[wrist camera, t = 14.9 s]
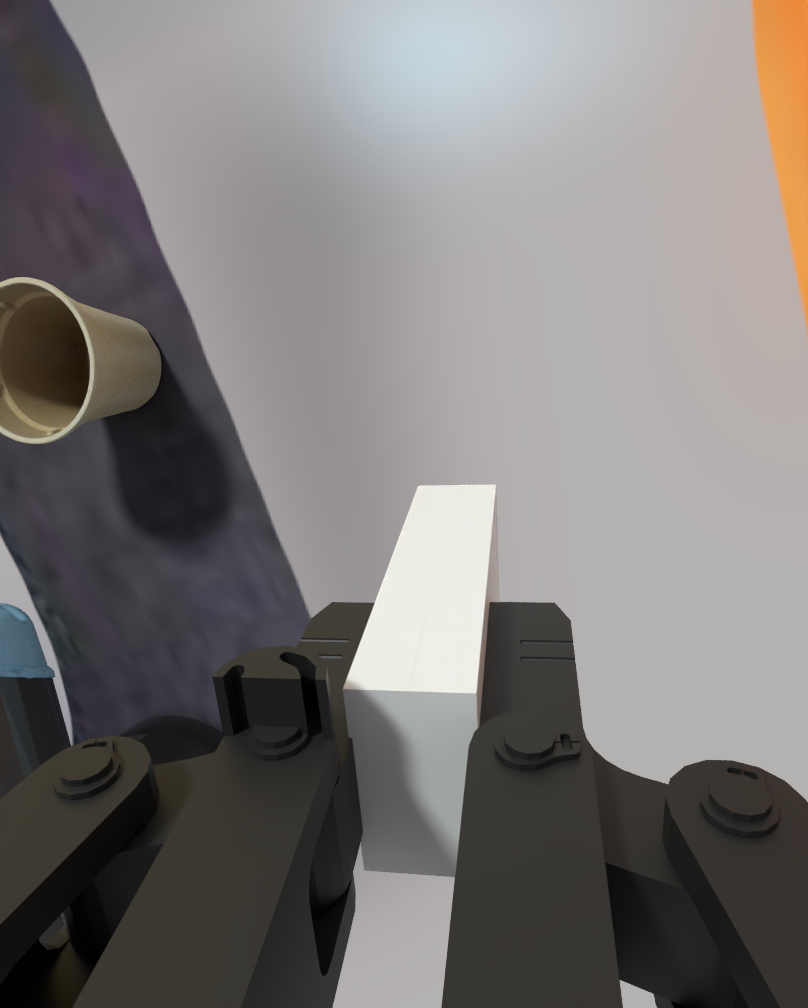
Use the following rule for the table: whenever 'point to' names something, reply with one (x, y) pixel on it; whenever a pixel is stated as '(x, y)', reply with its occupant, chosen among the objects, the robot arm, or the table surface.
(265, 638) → the table surface
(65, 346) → the flower pot
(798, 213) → the table surface
